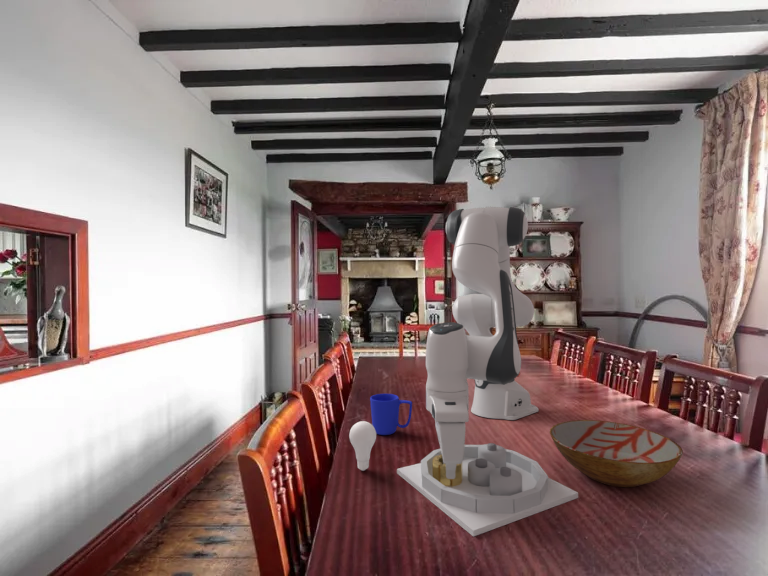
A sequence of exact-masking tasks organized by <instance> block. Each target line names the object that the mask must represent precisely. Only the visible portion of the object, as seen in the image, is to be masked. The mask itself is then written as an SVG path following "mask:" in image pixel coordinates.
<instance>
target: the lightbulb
mask: <svg viewBox="0 0 768 576" xmlns="http://www.w3.org/2000/svg"><path fill="white" fill-rule="evenodd" d="M348 434H349V435H348V437H349V442H350V443H351V446H352V447H353V449H354V452H355V459H356V462H357V464H356V465H357V469H359V470H360V471H362V472H364V471H366V470H368V469H369V467H370V458H371V451H372V448H373V446H374V445H375V442H376V440H377V433H376V431H375V428H374V427H373V425H372V423H370V422H368V421H364V420H362V421H361V420H360V421H358V422H356V423H354V424H353V425H352V426H351V428H350V430H349V433H348Z"/></svg>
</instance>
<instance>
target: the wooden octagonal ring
mask: <svg viewBox="0 0 768 576" xmlns="http://www.w3.org/2000/svg"><path fill="white" fill-rule="evenodd" d="M432 471H433V478H435V479H436V480H437V481H439V482H440V483H442V484H443V485H444V486H448V487H450V486H452V487H453V486H456V485H460V483H462V480H463V469H462V463H461V464H457V465H456V470H455V478H454V479H448V478H447V477H446V464H443V457H442V455H438V456H435V457H434V458H433V460H432Z"/></svg>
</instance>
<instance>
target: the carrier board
mask: <svg viewBox="0 0 768 576" xmlns="http://www.w3.org/2000/svg"><path fill="white" fill-rule="evenodd" d="M438 455H441V448H438V449H433V450H432V451H431V452H429V453H428V454H427V455H426V456H424V457H423V458H422V459H421V460H420V462H419V463H415V464H411V465H407V466H401V467H400V468H397V469H396V474H397V475H398V476H400V478H402V479H404V481H406V482H407V483H408V484H409V485H411V486H412V487H413V488H414V489H416V491H418V492H419V493H420V494H421V495H423V497H424V498H426V499H427V500H429V501H430V502H431V503H432V504H433V505H435V506H436V507H437V508H438V509H440V510H441V511H442V512H443V513H444V514H445V515H447V517H449V518H450V519H452V521H454V522H455V523H456V524H457V525H459V526H460V527H461V528H463V530H465V531H466V532H467V533H468V534H470V535H471V536H472V537H477V536H479V535H482V534H484V533H487V532H489V531H492V530H494V529H497V528H501V527H503V526H505V525H508V524H511V523H514V522H516V521H519V520H521V519H524V518H527V517H531V516H533V515H536V514H538V513H541V512H543V511H547V510H548V509H552V508H554V507H557V506H560V505H563V504H565V503H568V502H570V501H573V500H576V499H579V492H578V491H576V490H574V489H572V488H570V487H568V486H566V485H564V484H562V483H560V482H558V481H556V480H554V479H552V478H551V477H549V476H548V474H547V473H546V472H545V471H544V469H543V468H542V466H541V465H540V464H539V462H538V461H536V460H534V459H533V458H531V457H528V456H526V455H524V454H521V453H520V452H517V451H515V450H513V449H512V450H511V449H507V448H505V447H504V446H501V445H498V444H496V443H493V442H489V443H485V444H465V447H464V457H463V461H462V469H463V480H462V483H460V485H456V486H453V487H452V486H450V487H448V486H444V485H443V484H442V483H440V482H439V481H437V480H436V479H435V478H433V471H432V460H433V458H434V457H435V456H438ZM443 464H445V463H444V462H443Z"/></svg>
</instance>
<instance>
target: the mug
mask: <svg viewBox="0 0 768 576" xmlns="http://www.w3.org/2000/svg"><path fill="white" fill-rule="evenodd" d="M369 401H370V411H371V412H370V413H371V424H372V425H373V427H374V428H375V431H376V435H380V436H389V435H392V434H394V433H395V432H396V431H397V428H400V429H401V428H402V429H405V428H407V427H408V426H409V425H410V422H411V419H412V411H413V402H412V400H406V399H405V400H404V399H400V397H399V396H398V395H397V394H393V393H376V394H374V395H371V396H370V397H369ZM401 404H408V405H409V409H408V410H409V411H408V418H407V421H406V422H405V423H404V424H400V423H399V414H400V405H401Z"/></svg>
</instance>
